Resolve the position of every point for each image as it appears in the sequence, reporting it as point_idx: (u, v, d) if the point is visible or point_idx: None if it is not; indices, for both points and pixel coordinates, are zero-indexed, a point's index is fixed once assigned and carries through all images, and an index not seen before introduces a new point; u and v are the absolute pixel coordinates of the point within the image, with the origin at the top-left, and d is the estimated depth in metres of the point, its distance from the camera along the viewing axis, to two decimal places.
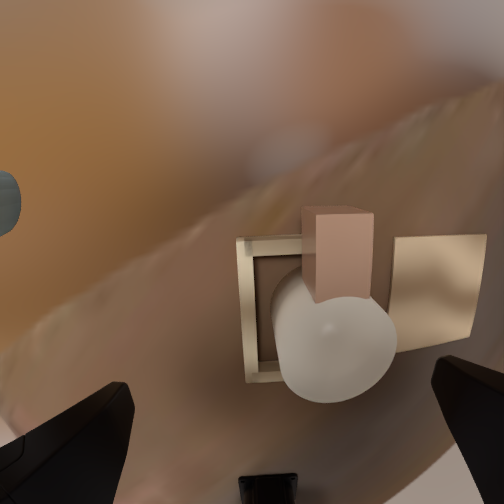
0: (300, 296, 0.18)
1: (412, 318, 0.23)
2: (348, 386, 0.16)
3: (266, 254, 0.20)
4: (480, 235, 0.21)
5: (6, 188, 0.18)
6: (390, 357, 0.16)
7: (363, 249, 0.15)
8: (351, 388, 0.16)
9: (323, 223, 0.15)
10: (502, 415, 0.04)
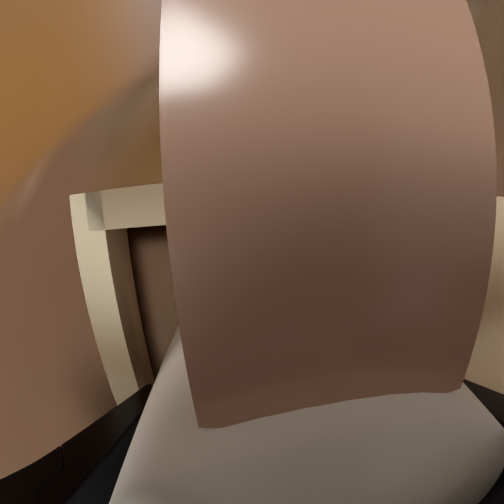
0: None
1: (475, 360, 0.10)
2: None
3: (135, 223, 0.07)
4: None
5: None
6: None
7: (458, 140, 0.02)
8: None
9: None
10: None
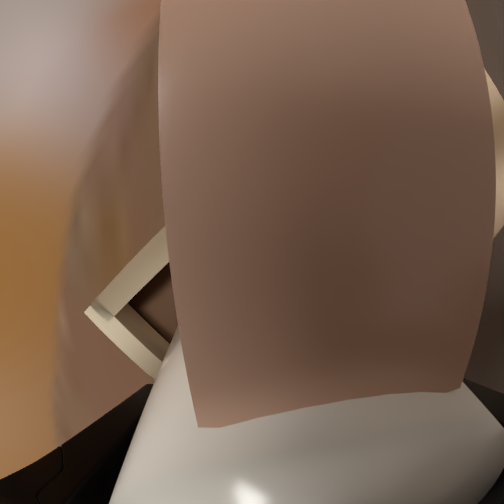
0: None
1: None
2: None
3: (124, 302, 0.11)
4: None
5: None
6: None
7: (457, 139, 0.02)
8: None
9: None
10: None
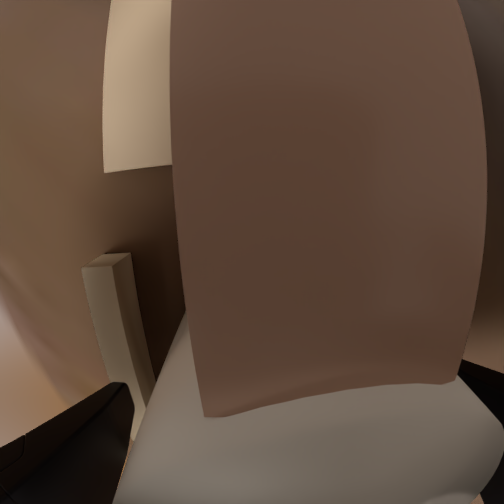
0: None
1: None
2: None
3: None
4: None
5: None
6: None
7: (450, 143, 0.02)
8: None
9: None
10: (502, 415, 0.04)
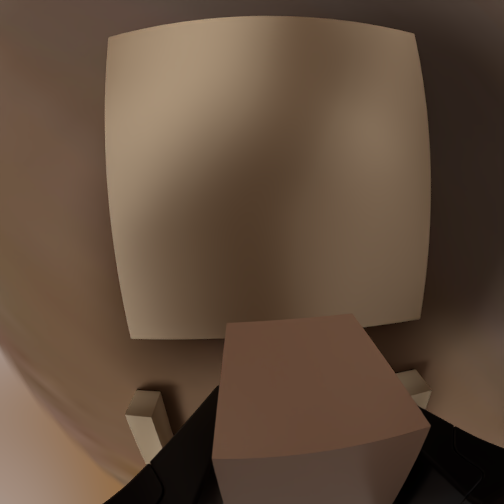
0: None
1: (341, 258, 0.09)
2: None
3: None
4: (108, 59, 0.07)
5: None
6: None
7: (373, 497, 0.04)
8: None
9: (243, 476, 0.03)
10: None
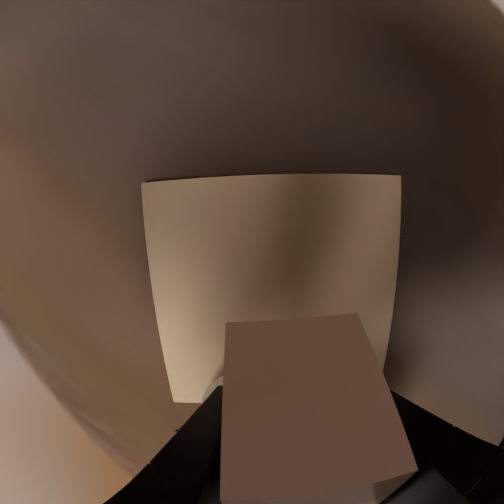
0: None
1: None
2: None
3: None
4: (144, 206, 0.11)
5: None
6: None
7: None
8: None
9: None
10: None
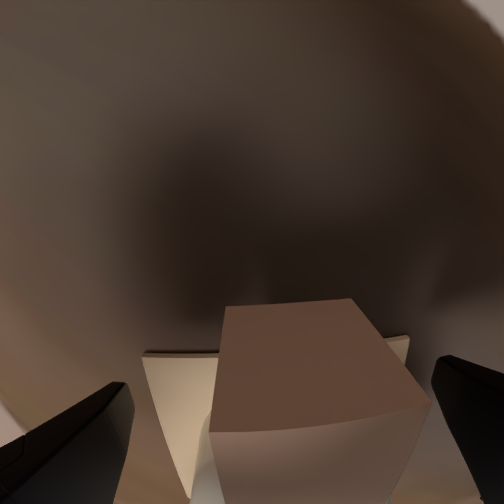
0: (223, 494, 0.06)
1: None
2: None
3: None
4: (148, 377, 0.11)
5: None
6: None
7: (374, 482, 0.04)
8: None
9: (241, 453, 0.03)
10: (502, 415, 0.04)
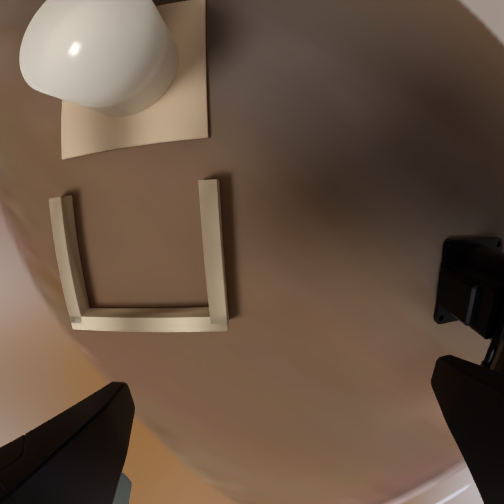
0: None
1: (154, 104, 0.16)
2: (83, 62, 0.09)
3: (76, 304, 0.18)
4: None
5: None
6: (139, 16, 0.09)
7: None
8: (87, 65, 0.10)
9: None
10: (502, 415, 0.04)
